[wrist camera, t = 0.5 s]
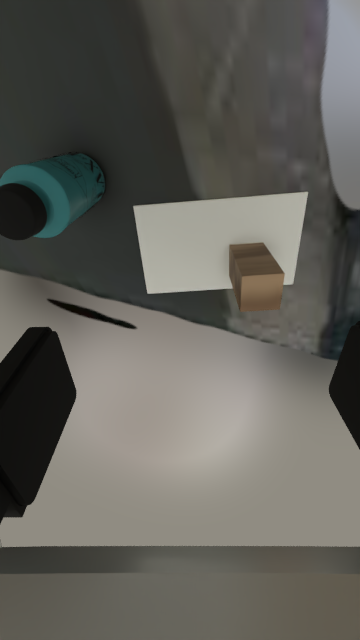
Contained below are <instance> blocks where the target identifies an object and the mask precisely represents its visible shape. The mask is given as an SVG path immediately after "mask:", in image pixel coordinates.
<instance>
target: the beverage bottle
mask: <svg viewBox="0 0 360 640" xmlns="http://www.w3.org/2000/svg"><path fill="white" fill-rule="evenodd" d="M60 155H61V154H60ZM43 159H46V160H41V159H40V160H41V161H37V162H34V163H33V162H32V161H31V162H32V163H30V164H22V165H17V166H14V167H12V168H10V169H8V170H7V171H6V172H5V173H4V174H3V176H2V178H1V180H0V234H1V235H2V236H4V237H6V238H9V239H12V240H24V239H27V238H29V237H31V236H35V237H40V238H50V237H54V236H56V235H58V234H60V233H61V232H62V231H63V230H64V229H65V228H66V227H67V226H68V225H69V224H71V223H72V222H73V221H74V220H76V219H77V218H78V217H80V216H81V215H82V214H83V213H84V214H85V212H86V211H87V210H88V209H91V208H93V205H94V204H96V203H97V202H98V201H99V200H100V199H101V197H102V195H103V193H104V190H105V188H106V186H105V185H106V183H105V181H104V178H105V177H104V176H103V173H102V171H101V169H100V166H98V165H97V164H96V163H97V162H96V161H95V160H94V159H93V160H92V159H91V158H90V156H89V157H88V156H86V155H85V154H80V153H71V152H69V153H68V154H67V155H63V156H62V155H61V156H53V158H52V157H50V159H48V157H47V158H43ZM37 160H39V159H37ZM87 212H88V211H87ZM84 214H83V215H84Z"/></svg>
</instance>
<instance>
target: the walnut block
mask: <svg viewBox="0 0 360 640" xmlns="http://www.w3.org/2000/svg"><path fill="white" fill-rule="evenodd" d="M284 276H285V273H284V272H283V270H282V269H281V267H280V266H279V264H278V263H277V261H276V260H275V259H274V257H273V256H272V254H271V253H270V251H269V250H268V248H267V247H266V246H265V244H264V243H263V242H254V243H241V244H229V277H230V280H231V284H232V287H233V290H234V293H235V296H236V300H237V303H238V306H239V309H240V312H244V311H260V310H277V309H280V304H281V297H282V290H283V283H284Z"/></svg>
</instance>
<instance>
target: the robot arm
mask: <svg viewBox="0 0 360 640" xmlns="http://www.w3.org/2000/svg"><path fill="white" fill-rule="evenodd" d="M329 394H330V397H331V399H332V401H333V402H334V404H335V406H336V408H337V409H338V411H339V413H340V415H341V417H342V419H343V420H344V422H345V424H346V426H347V427H348V429H349V431H350V433H351V434H352V437H353V438H354V440H355V442H356V443H357V445H358V447H359V449H360V321H358V322H357V323H356V325H354V326H352V327H351V328H350V330H349V333H348V335H347V338H346V341H345V344H344V347H343V349H342V352H341V355H340V358H339V360H338V363H337V366H336V369H335V371H334V374H333V377H332V380H331V382H330V385H329ZM75 399H76V388H75V385H74V382H73V379H72V376H71V373H70V370H69V367H68V364H67V361H66V358H65V355H64V352H63V350H62V346H61V343H60V340H59V337H58V334H57V333H56V332H55V331H52V330H51V328H49V327H30V328H28V329H27V330H26V332H25V333H24V334H23V335H22V337H21V338H20V339H19V340H18V342H17V343H16V344H15V345H14V347H13V348H12V349H11V351H10V352H9V353H8V354H7V356H6V357H5V358H4V359H3V360H2V362H1V363H0V523H1V521H2V519H3V517H22V516H23V514H24V512H25V509H26V507H27V505H30V504H31V503H32V502H33V501H34V499H35V497H36V495H37V492H38V490H39V488H40V485H41V483H42V480H43V478H44V475H45V473H46V471H47V468H48V466H49V463H50V461H51V458H52V456H53V454H54V451H55V448H56V446H57V444H58V441H59V439H60V436H61V434H62V431H63V429H64V426H65V424H66V422H67V419H68V417H69V414H70V412H71V409H72V407H73V404H74V402H75ZM0 640H360V547H315V546H296V547H295V546H62V547H61V546H60V547H59V546H48V547H47V546H45V547H44V546H43V547H42V546H41V547H2V545H1V541H0Z"/></svg>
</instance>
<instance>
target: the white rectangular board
mask: <svg viewBox="0 0 360 640" xmlns="http://www.w3.org/2000/svg"><path fill="white" fill-rule="evenodd" d="M307 195H308V192H295V193H282V194H270V195H258V196H246V197H233V198H221V199H209V200H197V201H184V202H172V203H160V204H147V205H135V206H133V208H134V214H135V220H136V226H137V232H138V238H139V245H140V251H141V257H142V263H143V269H144V275H145V281H146V288H147V294H152V293H167V292H182V291H197V290H213V289H228V288H233V287H232V284H231V280H230V277H229V244H241V243H254V242H263V243H264V244H265V246H266V247H267V248H268V250H269V251H270V253H271V254H272V256H273V257H274V259H275V260H276V261H277V263H278V264H279V266H280V267H281V269H282V270H283V272H284V273H285V276H284V283H283V285H289V284H293V281H294V275H295V269H296V263H297V257H298V250H299V244H300V238H301V232H302V226H303V220H304V214H305V207H306V201H307Z"/></svg>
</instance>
